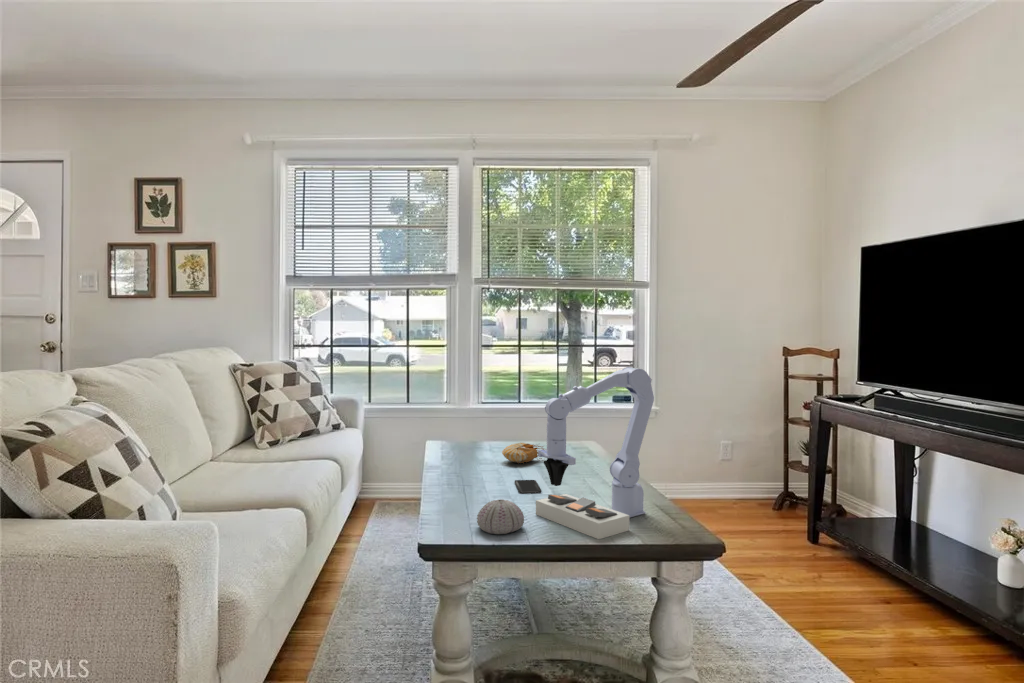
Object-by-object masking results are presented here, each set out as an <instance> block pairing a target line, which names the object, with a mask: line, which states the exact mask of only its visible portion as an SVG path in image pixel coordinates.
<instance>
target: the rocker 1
mask: <svg viewBox="0 0 1024 683" xmlns="http://www.w3.org/2000/svg"><path fill="white" fill-rule="evenodd" d="M547 498H548V499H550V500H552V501H555V502H558V503H565V504H567V503H572V502H575V501H577V500H576V499H573V498H570V497H567V496H559V495H557V494H548V496H547Z"/></svg>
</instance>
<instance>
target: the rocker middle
mask: <svg viewBox="0 0 1024 683" xmlns="http://www.w3.org/2000/svg"><path fill="white" fill-rule="evenodd" d="M596 504H597V503H596V501H595V500H591V499H590V498H589V499H588V498H586V497H581V498H579V500H577V501H575V502H573V503H571V504H569V505H567V506H566V508H567V509H570V510H572V511H575V512H581V511H585V510H586V508H592V507H594V506H595V505H596Z"/></svg>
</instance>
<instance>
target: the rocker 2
mask: <svg viewBox="0 0 1024 683" xmlns="http://www.w3.org/2000/svg"><path fill="white" fill-rule="evenodd" d="M586 513H589V514H592V515H595V516H597V517H605V518H607V517H611V516H615V515H617V513H614V512H612V511H609V510H606V509H597V508H586Z"/></svg>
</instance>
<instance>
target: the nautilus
mask: <svg viewBox="0 0 1024 683" xmlns="http://www.w3.org/2000/svg"><path fill="white" fill-rule="evenodd" d="M538 450H547V448H544V445H543V446H542V445H541V446H540V445H539V443H538V444H537V443H536V444H534V443H533V444H531V443H527V442H518V443H512V444H509V445H508V446H506V447H505V448H504V449H503V450H502V451H501V454H502V455H503V457H504V458H505V459H507V460H508V461H509V462H512V463H517V464H519V463H523V464H525V463H524V462H526V463H528V462H532V461H534V460H533V459H537V458H539V459H538V460H543V459H542V458H543V457H538Z"/></svg>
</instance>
